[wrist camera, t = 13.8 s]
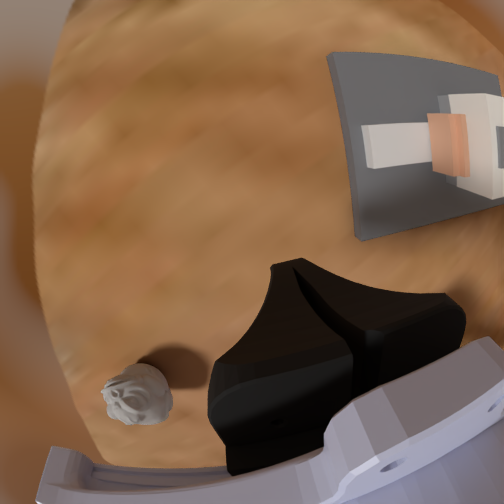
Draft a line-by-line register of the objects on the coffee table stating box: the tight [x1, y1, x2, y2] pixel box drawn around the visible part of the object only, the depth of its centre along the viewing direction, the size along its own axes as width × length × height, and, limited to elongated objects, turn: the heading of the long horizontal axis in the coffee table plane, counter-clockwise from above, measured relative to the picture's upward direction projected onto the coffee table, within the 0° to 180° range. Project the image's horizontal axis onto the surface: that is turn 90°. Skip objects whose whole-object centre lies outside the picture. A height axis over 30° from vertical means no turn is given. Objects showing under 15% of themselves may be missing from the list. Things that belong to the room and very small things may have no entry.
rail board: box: [326, 52, 504, 241], centre depth 17 cm, size 14×20×3 cm
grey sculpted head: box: [101, 363, 173, 425], centre depth 21 cm, size 6×7×7 cm
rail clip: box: [427, 113, 470, 177], centre depth 15 cm, size 4×2×3 cm, turn 12°
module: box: [437, 93, 504, 200], centre depth 15 cm, size 8×4×6 cm, turn 12°
